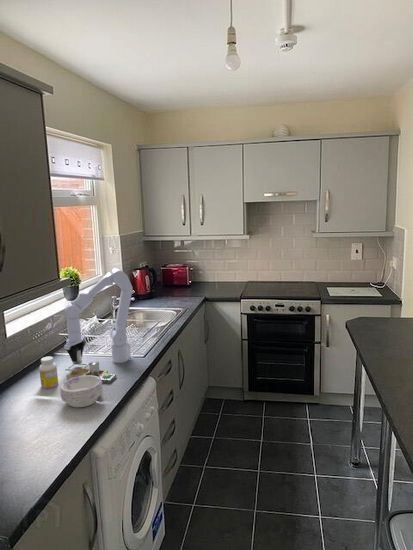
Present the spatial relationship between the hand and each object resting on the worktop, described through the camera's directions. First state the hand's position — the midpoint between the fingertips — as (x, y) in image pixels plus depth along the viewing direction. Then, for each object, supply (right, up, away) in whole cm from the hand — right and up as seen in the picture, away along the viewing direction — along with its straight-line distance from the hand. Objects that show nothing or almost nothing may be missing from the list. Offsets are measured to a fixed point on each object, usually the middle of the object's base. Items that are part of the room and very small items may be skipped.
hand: (77, 359), depth 195 cm
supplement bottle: (-6, -8, -18) cm, 21 cm away
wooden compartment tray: (+8, -6, -10) cm, 14 cm away
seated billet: (+11, -5, -11) cm, 16 cm away
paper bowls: (+12, -10, -31) cm, 35 cm away
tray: (0, -5, +1) cm, 5 cm away
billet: (0, -2, 0) cm, 2 cm away
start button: (+17, -8, -14) cm, 24 cm away
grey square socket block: (+17, -7, -15) cm, 23 cm away
